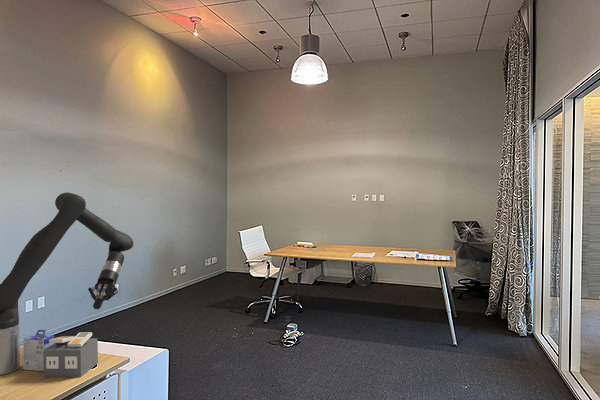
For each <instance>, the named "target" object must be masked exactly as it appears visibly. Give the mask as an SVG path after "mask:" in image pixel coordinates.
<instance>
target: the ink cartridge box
mask: <svg viewBox="0 0 600 400" xmlns="http://www.w3.org/2000/svg"><path fill="white" fill-rule="evenodd" d="M46 331H47V330H46V329H38V330H37V332H36V333H35V334H32V335H30V336H27V337H25V338H23V340H22V342H23V344H22V345H23V348H22V349H23V355H22V356H23V361H22V362H23V363H22V364H23V366H22V367H23V370H25V371H27V370H28V371H36V372H37V371H38V372H44V365H43V350H45V349H46V348H48V347H50V346H51V345H53V344H55V343H49V340H50V339H54V338H55V335H47V334H46ZM41 332H42V333H41Z"/></svg>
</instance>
